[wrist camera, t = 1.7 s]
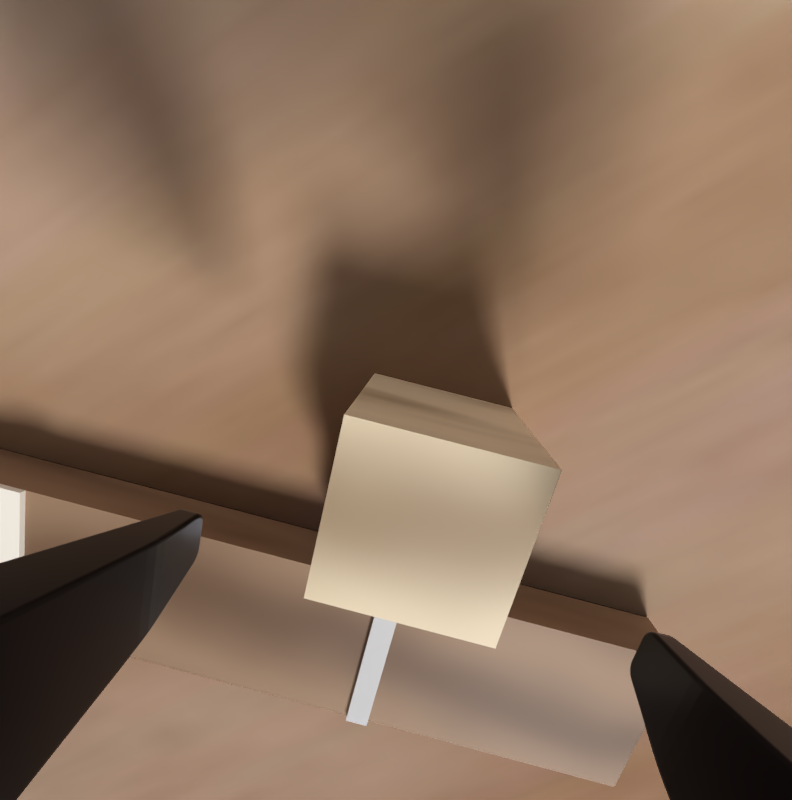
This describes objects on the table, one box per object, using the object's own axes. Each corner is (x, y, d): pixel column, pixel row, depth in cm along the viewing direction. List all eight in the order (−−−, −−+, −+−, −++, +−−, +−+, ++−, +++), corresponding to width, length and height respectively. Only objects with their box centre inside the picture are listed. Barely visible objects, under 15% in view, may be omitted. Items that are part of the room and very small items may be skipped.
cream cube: (463, 556, 16) (481, 685, 11) (339, 524, 16) (295, 636, 11) (511, 407, 14) (561, 470, 9) (374, 373, 14) (344, 414, 9)
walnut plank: (593, 732, 17) (616, 792, 15) (-36, 565, 18) (-100, 601, 16) (647, 617, 16) (682, 666, 14) (-39, 438, 16) (-110, 459, 14)
